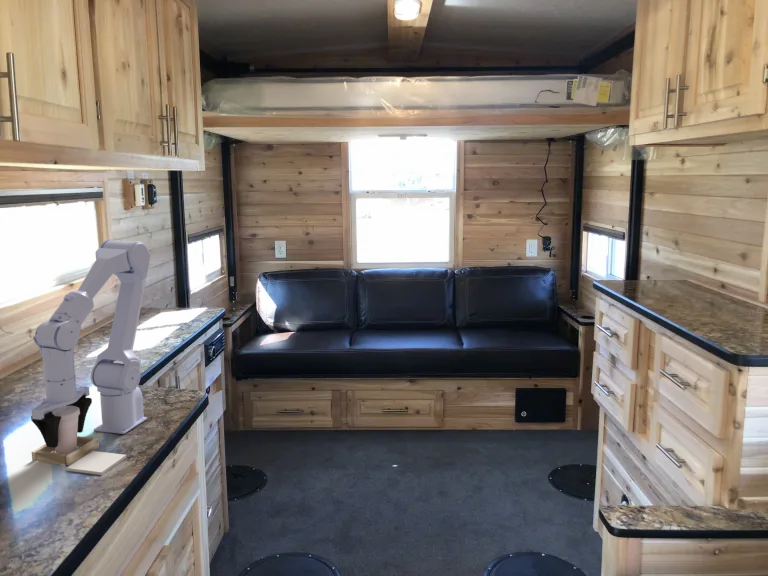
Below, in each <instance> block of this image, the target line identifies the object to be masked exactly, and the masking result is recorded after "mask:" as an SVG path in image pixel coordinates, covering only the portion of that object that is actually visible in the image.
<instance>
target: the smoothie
mask: <svg viewBox="0 0 768 576" xmlns="http://www.w3.org/2000/svg"><path fill="white" fill-rule="evenodd" d="M52 414H54V416H61V420H60V423H59V428H58V446H57V447H55V450H54V451H55V453H60V454H67V455H69V454H70V453H72V452H74V451H75V450H77V449H78V447H77V436H78V432H77V431H78V415H79V414H80V409H79V408H78V407H76V406H64V407H62V408H60V409H58V410H56V411H54V412H52Z"/></svg>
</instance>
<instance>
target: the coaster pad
mask: <svg viewBox="0 0 768 576" xmlns="http://www.w3.org/2000/svg"><path fill="white" fill-rule="evenodd" d="M126 458H127V454H124V453H123V454H122V453H121V454H120V453H112V452H106V451H105V452H104V451H97V450H94V451H92V452H90V453H89V454H87V455H86V456H84V457H83V458H81V459H80V460H78V461H76V462H75V463H73V464H72V465H70V466H67V467H66V471H67V472H74V473H81V474H82V473H83V474H90V475H98V476H103V475H104V474H106V473H107V472H108V471H110V470H111V469H113V468H115V467H116V466H117V465H118V464H120V463H121V462H123V461H124V460H125V459H126Z"/></svg>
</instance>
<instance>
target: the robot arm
mask: <svg viewBox="0 0 768 576" xmlns="http://www.w3.org/2000/svg"><path fill="white" fill-rule="evenodd" d="M150 260H151V252H150V251H149V249H148V247H147V245H146V244H145V243H144V242H143V241H140V240H136V241H133V240H132V241H131V240H129V241H128V240H114V239H105V240H103V241H101V243H100V245H99V247H98V249H96V251H95V261H94V262H93V264H92V266H91V267H90V269H89V270H88V273H87V274H86V276H85V278H84V279H83V281H82V283H81V285H80V286H79V287H78V289H77V290H75V291H70V292H68V293H66V294H65V295H64V297H63V300H62V302H61V303H60V305H58V307H57V308H56V310H55V311H54V312H53V313H52V314H51V316H50V318H49V319H48V320H45V321H44V322H42V323H40V324H39V325H38V326H37V327H36V329H35V333H34V336H32V340H33V342H34V344H35V346H36V347H38V349H39V355H41V357H42V366H43V370H42V371H43V378H44V389H45V390H44V391H45V396H42V402H41V403H39V404H38V405H37V406H36V407H34V408H32V409H31V418H30V419H31V422H32V423H33V424H34V425H35V426H36V428H37V429H38V431H39V433H40V434H41V435H42V439H44V443H45V444H46V445H47V447H53V448H55V447H57V446H58V428H59V423H60V420H61V416H54V414H52V412H54V411H56V410H58V409H60V408H62V407H64V406H76V407H78V408H79V409H80V414H79V415H78V431H77V434H78V433H80V434H81V433H83V431H84V427H85V421H86V417H87V413H88V411H89V409H90V407H91V405H92V403H93V399H92V398H91V397H88V396H90V386H84V385H83V386H78V387H77V382H76V380H77V379H76V369H75V368H76V367H75V358H74V357H75V356H74V347H75V346H76V345H77V344H78V342H79V339H80V333H81V332H80V331H81V330H82V325H83V323H84V322H85V321H86V319H87V317H88V316H89V315H90V313H91V311H93V309H94V307H95V303H94V298H95V296H96V295H97V294H98V293H99V292H100V291H101V289H102V288H103V287H104V286H105V285H106V283H107V282H108V280H110V279H111V277H112V276H113V275H114V276H115V277H117V278H118V281H120V285H119V291H118V295H117V301H116V306H115V310H114V316H113V320H112V324H111V325H112V326H111V331H110V335H109V340H108V346H107V347H106V349H105V350H103V351H102V352H101V353H99V354H97V357H96V361H95V364H94V365H93V367H92V369H91V372H90V380H91V381H90V382H91V384H92V385H93V386H94V387H96V389H97V392H99V396H100V399H99V400H100V410H101V422H102V423H101V424H100V425H98V426H95V428H94V429H93V431H95V432H101V433H102V432H103V433H112V434H119V435H124V434H127V433H128V432H130V431H131V430H132V429H134V428H136V427H137V426H139V425H141V424H142V423H143V422H145V421H146V420H148V417H147V416H144V398H143V393H142V390H141V388H140V387H139V386H138V385H139V384H140V381H141V376H142V375H141V363H142V361H141V359H140V358H139V356H137V355H136V354H135V353H134V351H133V350H134V344H135V339H136V336H137V335H136V334H137V330H138V324H139V318H140V314H141V308H142V304H143V298H144V293H145V288H146V282H147V276H148V270H149V267H150V266H149V265H150ZM116 361H117V362H116ZM120 362H121V363H120Z"/></svg>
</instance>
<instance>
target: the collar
mask: <svg viewBox="0 0 768 576" xmlns="http://www.w3.org/2000/svg"><path fill="white" fill-rule="evenodd" d="M99 448H100V440H99V438H94V437H87V436H78V435H77V448H76V450H75V451H74V452H72V453H70V454H69V455H67V454H60V453H56V452H54V451H56V450H55V448H53V447H47V445H46V443H45V444H43V445H41V446H39V447H38V448H36V449H34V450H32V451H31V461H32V462H38V463H44V464H45V463H46V464H53V465H59V466H60V465H61V466H62V465H63V466H67V467H69V466H70V465H72V464H73V463H75V462H76V461H78V460H80V459H81V458H83V457H84V456H86V455H87V454H89V453H90V452H92V451H97V449H99Z"/></svg>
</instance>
